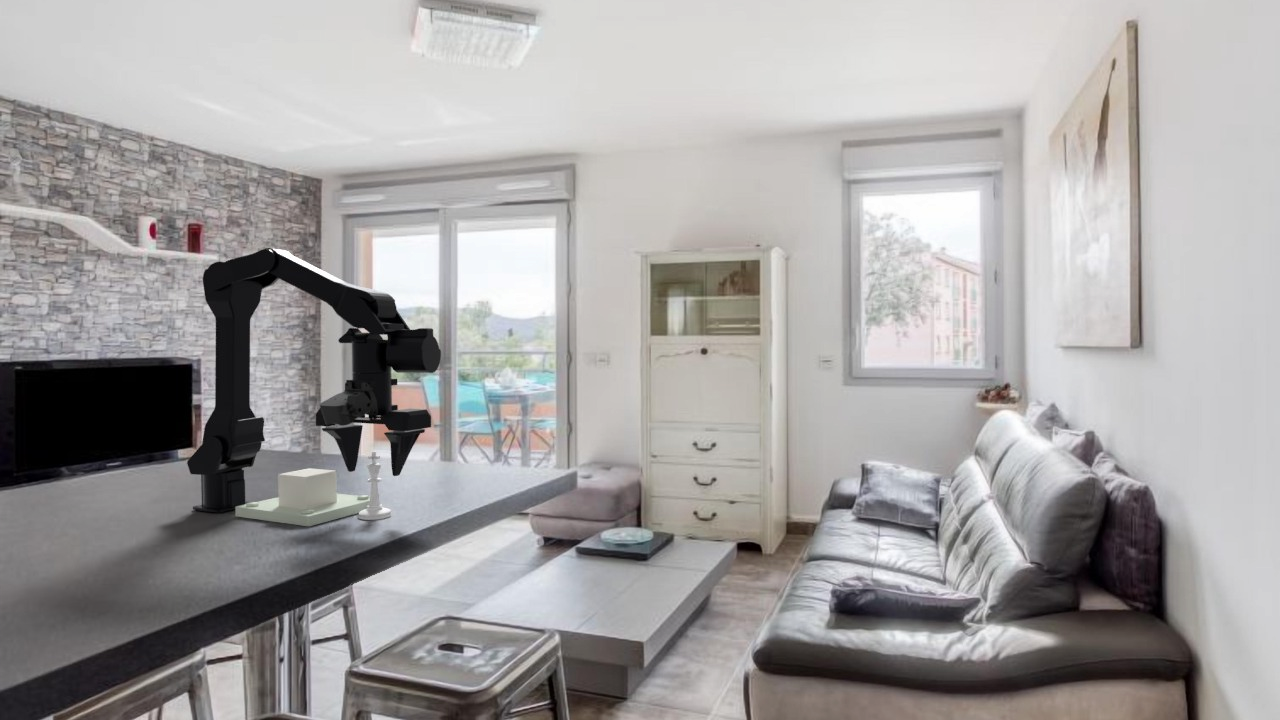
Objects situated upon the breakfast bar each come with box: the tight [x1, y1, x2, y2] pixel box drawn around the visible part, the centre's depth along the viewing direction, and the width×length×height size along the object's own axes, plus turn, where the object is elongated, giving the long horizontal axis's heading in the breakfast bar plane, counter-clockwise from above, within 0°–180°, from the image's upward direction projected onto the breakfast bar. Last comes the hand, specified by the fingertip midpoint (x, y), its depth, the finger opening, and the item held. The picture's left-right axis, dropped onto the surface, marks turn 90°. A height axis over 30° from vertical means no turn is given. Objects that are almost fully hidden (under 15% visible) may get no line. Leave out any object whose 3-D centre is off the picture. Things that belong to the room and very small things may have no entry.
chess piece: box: [357, 451, 393, 521], centre depth 120 cm, size 5×5×10 cm
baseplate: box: [234, 493, 370, 527], centre depth 123 cm, size 16×14×2 cm
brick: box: [277, 467, 338, 509], centre depth 122 cm, size 6×6×5 cm
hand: (373, 473), depth 120 cm, fingers open, 9 cm apart
